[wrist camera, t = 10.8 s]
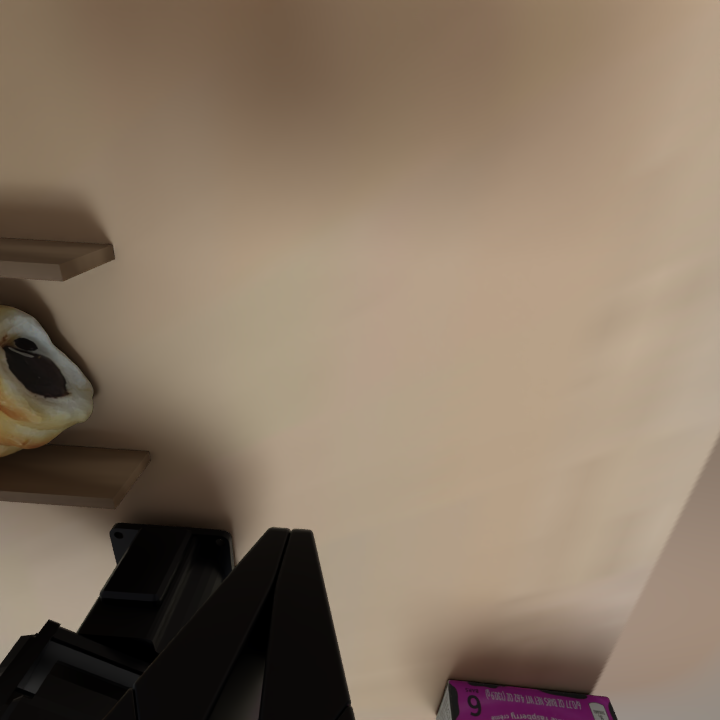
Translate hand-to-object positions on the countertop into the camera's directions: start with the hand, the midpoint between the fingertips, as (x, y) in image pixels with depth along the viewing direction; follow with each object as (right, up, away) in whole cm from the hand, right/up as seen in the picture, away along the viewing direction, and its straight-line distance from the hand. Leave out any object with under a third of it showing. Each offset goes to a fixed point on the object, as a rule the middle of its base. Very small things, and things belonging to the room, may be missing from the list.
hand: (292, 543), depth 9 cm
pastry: (-19, +5, +13) cm, 23 cm away
